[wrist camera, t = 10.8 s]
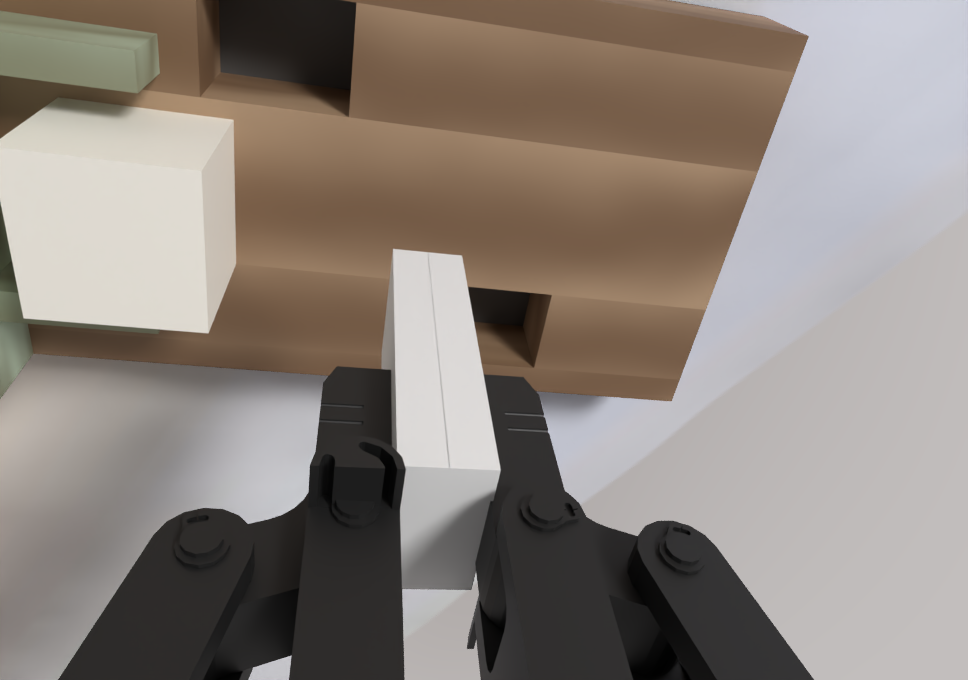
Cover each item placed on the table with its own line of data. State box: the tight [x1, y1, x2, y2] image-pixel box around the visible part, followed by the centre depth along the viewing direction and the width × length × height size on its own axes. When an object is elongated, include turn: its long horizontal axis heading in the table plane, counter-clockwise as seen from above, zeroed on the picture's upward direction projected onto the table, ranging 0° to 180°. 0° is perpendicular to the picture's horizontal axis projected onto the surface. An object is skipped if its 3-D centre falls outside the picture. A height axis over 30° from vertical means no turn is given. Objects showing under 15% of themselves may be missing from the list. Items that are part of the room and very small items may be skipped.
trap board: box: [0, 0, 809, 401], centre depth 22 cm, size 13×23×7 cm, turn 81°
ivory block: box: [0, 97, 236, 333], centre depth 20 cm, size 4×4×4 cm
